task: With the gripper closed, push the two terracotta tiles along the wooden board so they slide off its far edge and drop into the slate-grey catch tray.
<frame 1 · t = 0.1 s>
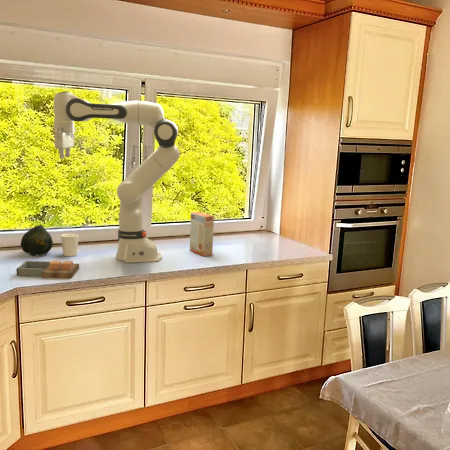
hand: (64, 157, 226), 48 cm above the counter, fingers open, 8 cm apart
cracker box: (201, 253, 252), on the counter
wooden board: (61, 273, 209), on the counter
tray: (47, 273, 208), on the counter
tile 1: (55, 267, 208), point 2 cm above the counter, touching wooden board
white cup: (70, 255, 239), on the counter
tile 2: (67, 267, 208), point 2 cm above the counter, touching wooden board
squash: (37, 254, 238), on the counter
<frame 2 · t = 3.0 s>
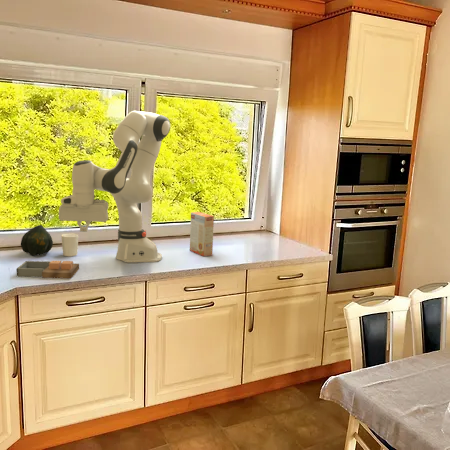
hand: (83, 231, 206), 19 cm above the counter, fingers closed
nothing on the counter moved.
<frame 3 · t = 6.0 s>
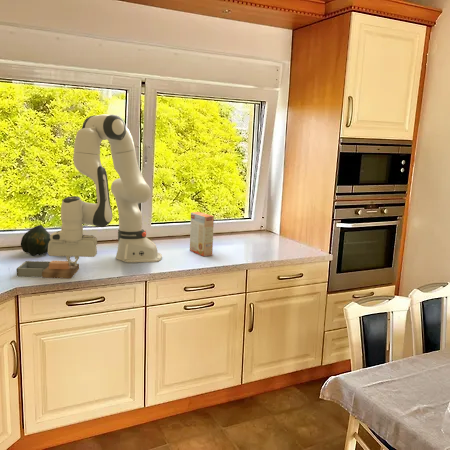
hand: (72, 266, 208), 3 cm above the counter, fingers closed
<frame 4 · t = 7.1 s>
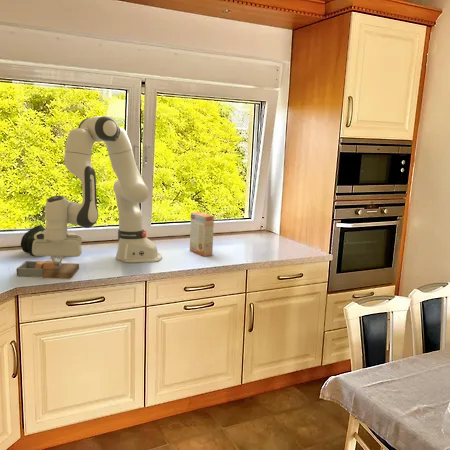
hand: (57, 265, 208), 4 cm above the counter, fingers closed
tile 1: (42, 267, 208), point 2 cm above the counter, tilted 73°, touching tray
tile 2: (49, 267, 208), point 3 cm above the counter, touching gripper
everything else where it was.
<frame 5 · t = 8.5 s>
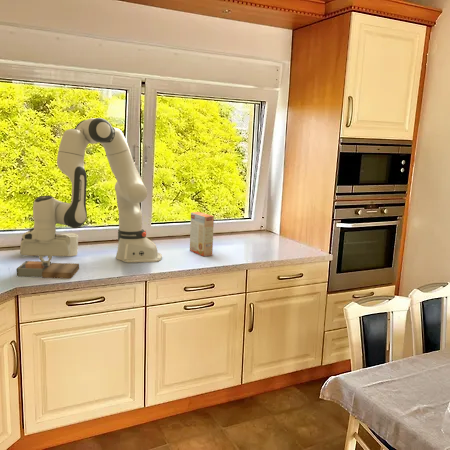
hand: (46, 265, 208), 3 cm above the counter, fingers closed
tile 1: (33, 267, 207), point 3 cm above the counter, tilted 91°, touching tile 2
tile 2: (38, 268, 208), point 2 cm above the counter, touching gripper, tile 1
everything else where it was.
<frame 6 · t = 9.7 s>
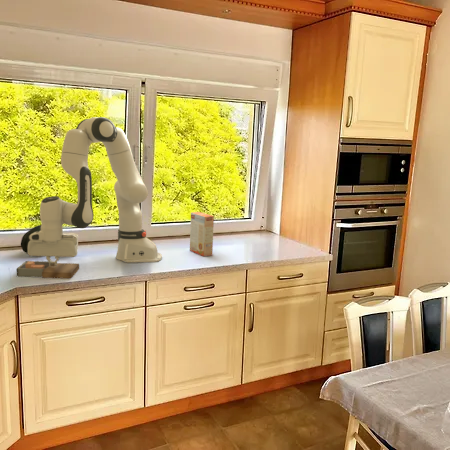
hand: (53, 265, 208), 3 cm above the counter, fingers closed
tile 1: (33, 267, 208), point 2 cm above the counter, tilted 90°, touching tray
tile 2: (38, 271, 208), resting on tray
everything else where it was.
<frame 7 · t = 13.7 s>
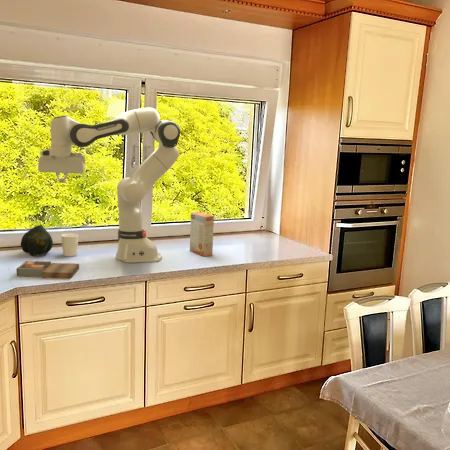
hand: (62, 182, 221), 37 cm above the counter, fingers closed
nothing on the counter moved.
at the end: tile 1 inside the target area on the tray (0.0 cm from its centre), point 2.5 cm above the tray's base; tile 2 inside the target area on the tray (2.1 cm from its centre), point 0.5 cm above the tray's base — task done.
